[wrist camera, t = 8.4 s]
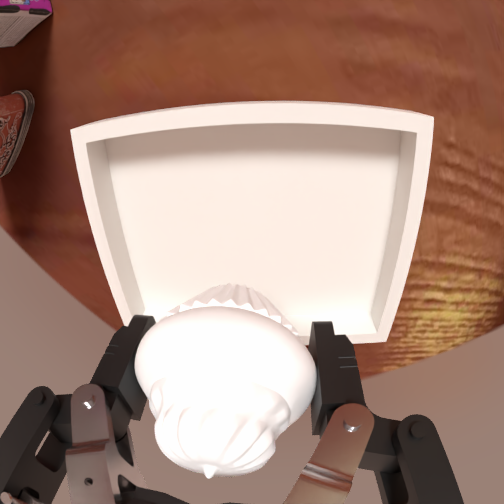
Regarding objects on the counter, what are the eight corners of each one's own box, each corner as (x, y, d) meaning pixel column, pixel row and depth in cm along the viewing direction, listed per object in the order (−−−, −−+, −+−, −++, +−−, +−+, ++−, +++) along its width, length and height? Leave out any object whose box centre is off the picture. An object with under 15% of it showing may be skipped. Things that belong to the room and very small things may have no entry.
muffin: (135, 294, 12) (65, 436, 6) (251, 218, 10) (219, 413, 4) (225, 373, 15) (205, 502, 9) (335, 328, 13) (357, 484, 7)
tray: (411, 111, 15) (434, 117, 12) (377, 315, 23) (386, 341, 21) (96, 121, 17) (70, 129, 14) (140, 311, 25) (128, 335, 22)
